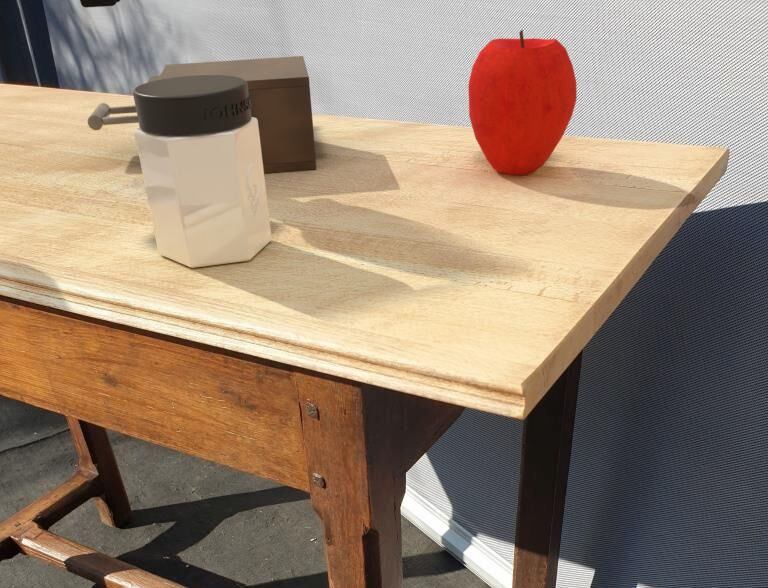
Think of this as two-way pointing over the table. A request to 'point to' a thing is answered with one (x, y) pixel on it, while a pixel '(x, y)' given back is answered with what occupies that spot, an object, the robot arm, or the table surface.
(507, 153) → the apple
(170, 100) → the jar
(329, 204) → the table surface
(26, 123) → the table surface
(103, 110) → the drawer
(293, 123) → the cabinet
